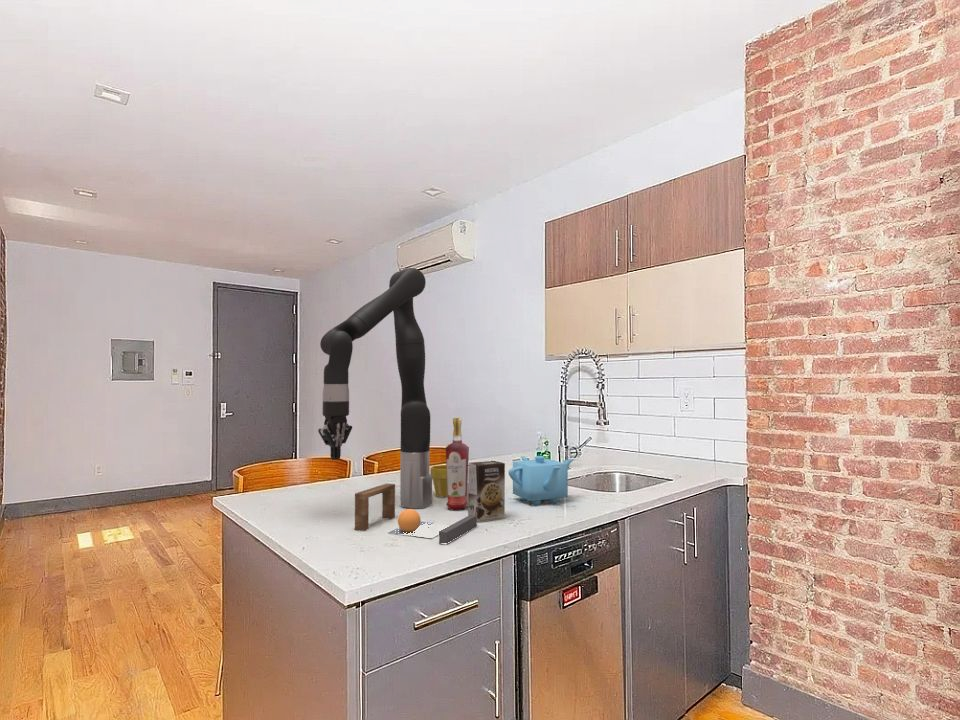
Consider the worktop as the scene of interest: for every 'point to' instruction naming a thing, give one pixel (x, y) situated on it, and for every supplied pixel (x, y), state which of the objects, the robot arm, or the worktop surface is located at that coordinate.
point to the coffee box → (486, 490)
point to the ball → (409, 520)
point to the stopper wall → (457, 529)
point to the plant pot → (439, 480)
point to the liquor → (457, 469)
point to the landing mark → (405, 532)
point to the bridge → (363, 504)
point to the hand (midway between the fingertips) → (335, 459)
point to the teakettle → (540, 479)
